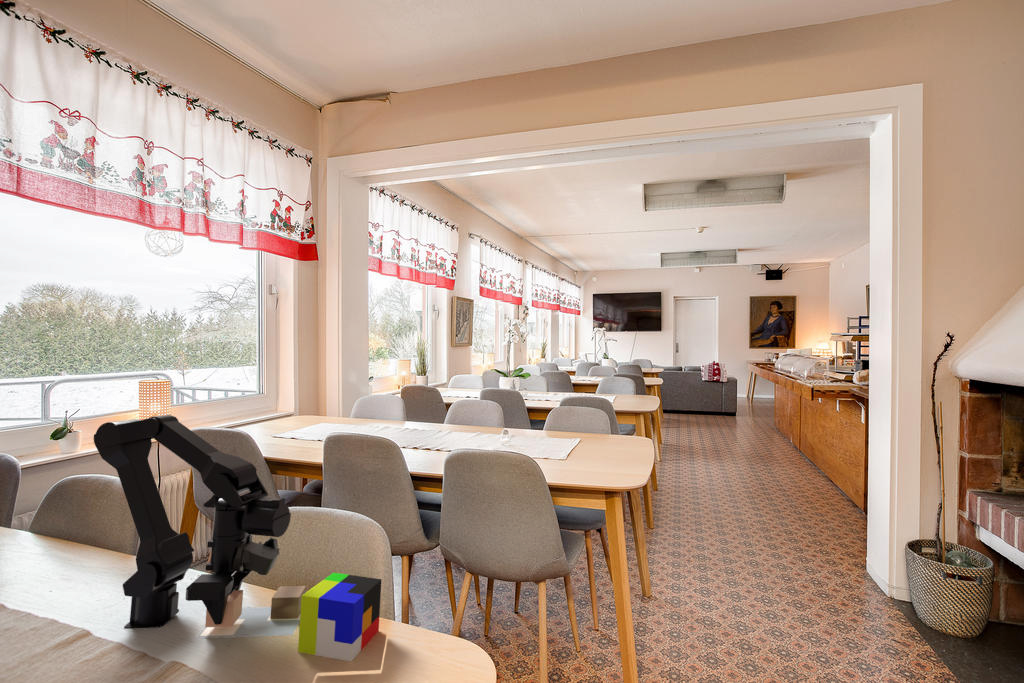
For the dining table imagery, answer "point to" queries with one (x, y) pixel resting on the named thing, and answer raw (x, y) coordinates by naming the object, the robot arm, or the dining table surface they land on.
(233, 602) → the terracotta block
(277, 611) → the block
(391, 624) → the dining table surface
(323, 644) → the puzzle toy
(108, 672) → the dining table surface
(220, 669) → the dining table surface
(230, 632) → the board
